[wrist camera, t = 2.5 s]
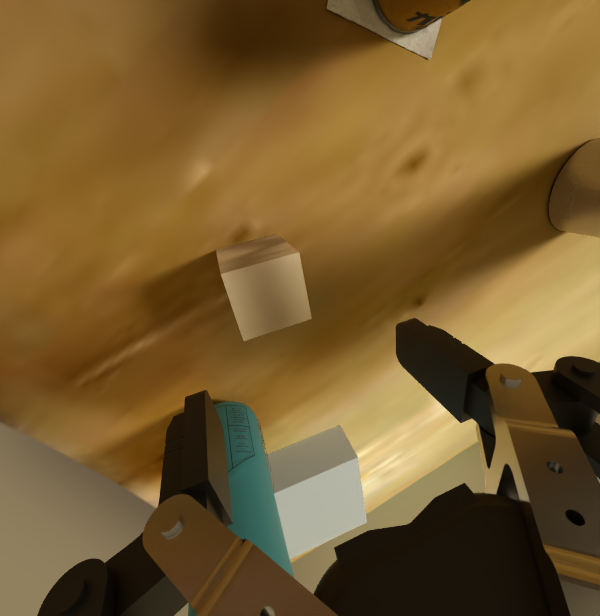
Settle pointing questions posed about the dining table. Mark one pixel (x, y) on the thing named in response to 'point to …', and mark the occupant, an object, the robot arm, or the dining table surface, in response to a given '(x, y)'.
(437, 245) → the dining table surface
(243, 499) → the beverage bottle
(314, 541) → the base block
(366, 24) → the condiment
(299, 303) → the maple block
